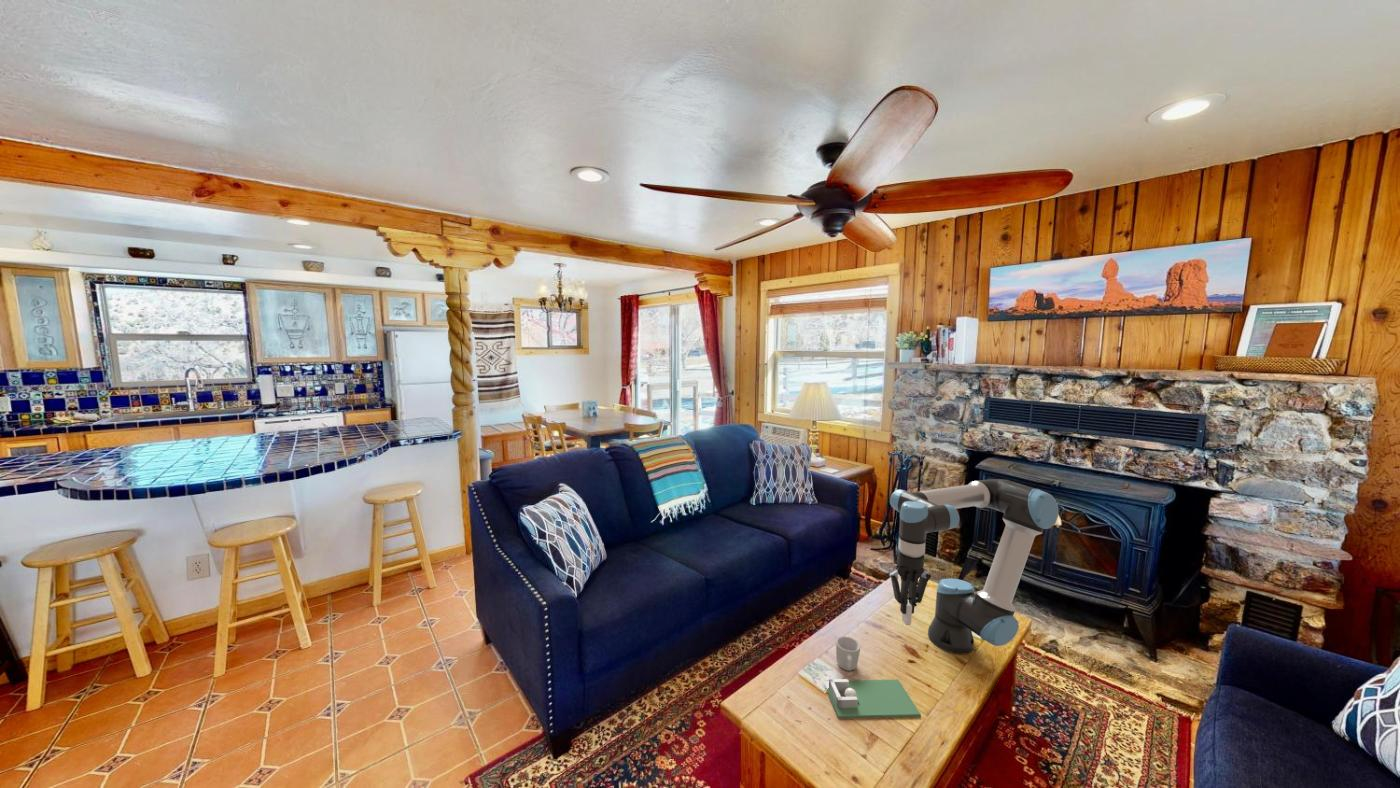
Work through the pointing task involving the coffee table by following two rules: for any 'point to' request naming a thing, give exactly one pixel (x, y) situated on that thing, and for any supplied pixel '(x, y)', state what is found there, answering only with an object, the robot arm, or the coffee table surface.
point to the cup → (847, 652)
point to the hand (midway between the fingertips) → (906, 622)
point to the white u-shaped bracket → (835, 687)
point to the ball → (850, 692)
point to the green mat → (878, 700)
